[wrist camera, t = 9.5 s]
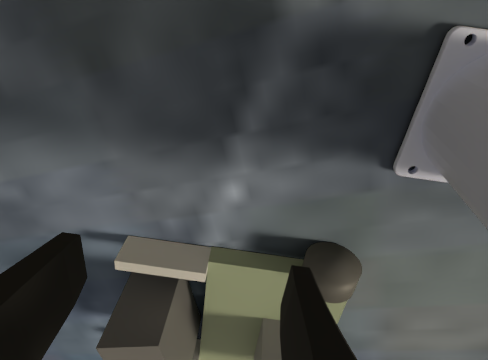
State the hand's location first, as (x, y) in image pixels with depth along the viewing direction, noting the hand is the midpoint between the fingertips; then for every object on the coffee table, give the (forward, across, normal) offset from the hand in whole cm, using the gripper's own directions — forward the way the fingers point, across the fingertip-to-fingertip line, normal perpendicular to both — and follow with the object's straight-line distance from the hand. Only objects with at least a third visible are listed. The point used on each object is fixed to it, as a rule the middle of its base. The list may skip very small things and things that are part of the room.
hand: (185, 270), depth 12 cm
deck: (+10, -2, +14) cm, 17 cm away
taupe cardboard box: (+10, +3, +14) cm, 17 cm away
